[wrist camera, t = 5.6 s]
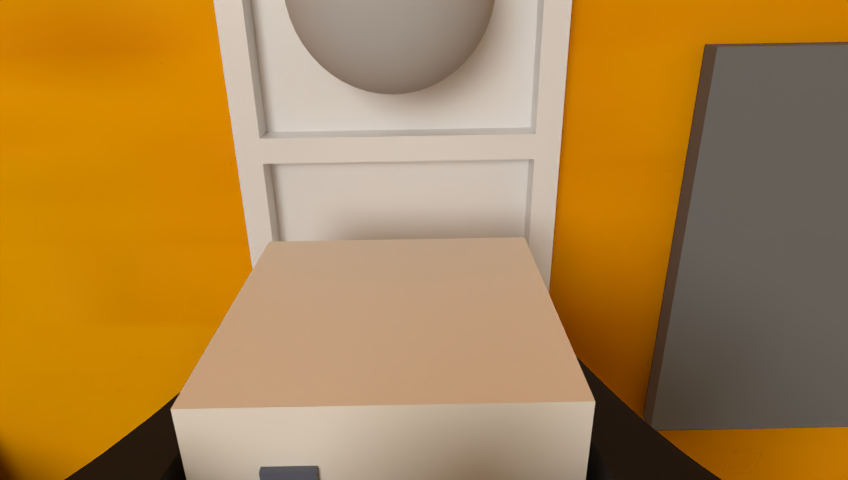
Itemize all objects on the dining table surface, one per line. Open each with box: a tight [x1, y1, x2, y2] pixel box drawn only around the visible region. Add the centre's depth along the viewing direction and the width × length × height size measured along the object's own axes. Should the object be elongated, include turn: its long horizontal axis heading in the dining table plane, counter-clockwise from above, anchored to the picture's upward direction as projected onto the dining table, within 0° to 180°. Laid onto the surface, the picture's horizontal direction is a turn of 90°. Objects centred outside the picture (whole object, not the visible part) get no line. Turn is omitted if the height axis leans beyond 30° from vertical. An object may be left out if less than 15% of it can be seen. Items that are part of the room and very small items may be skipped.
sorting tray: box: [213, 0, 572, 293], centre depth 16 cm, size 22×8×1 cm, turn 1°
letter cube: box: [171, 237, 595, 480], centre depth 10 cm, size 5×5×5 cm
